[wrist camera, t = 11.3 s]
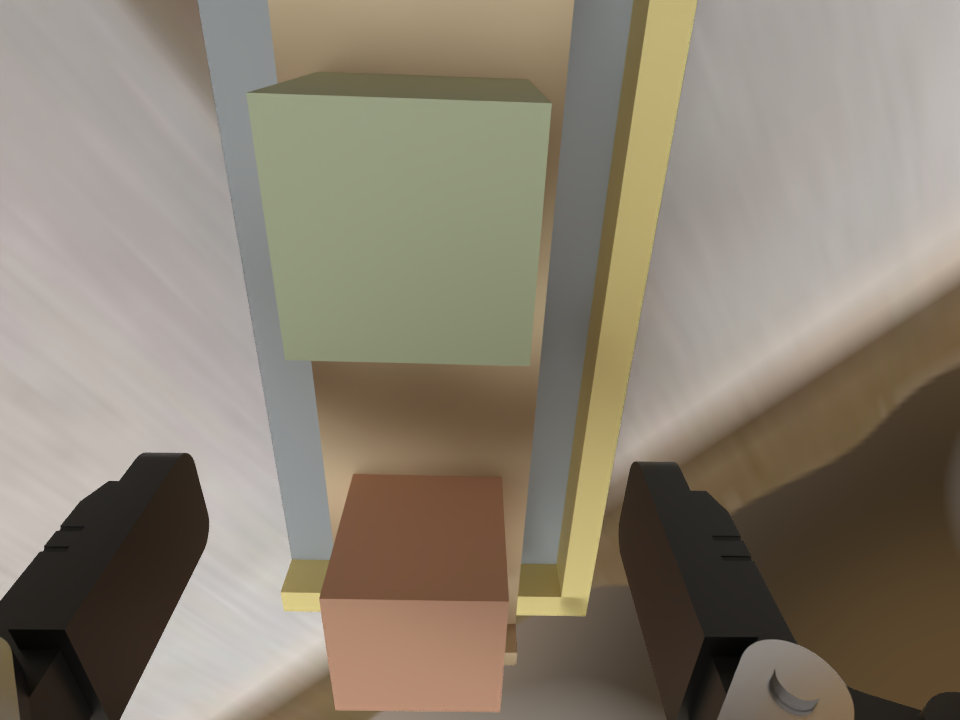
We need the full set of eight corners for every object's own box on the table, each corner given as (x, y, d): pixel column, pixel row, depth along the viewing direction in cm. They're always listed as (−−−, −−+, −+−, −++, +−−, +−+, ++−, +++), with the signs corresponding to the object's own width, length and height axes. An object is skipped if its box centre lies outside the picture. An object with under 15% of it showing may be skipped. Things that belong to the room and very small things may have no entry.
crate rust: (352, 473, 16) (318, 598, 13) (501, 477, 16) (508, 601, 13) (362, 577, 18) (335, 710, 15) (495, 579, 18) (499, 712, 15)
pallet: (306, -73, 13) (233, -115, 9) (557, -63, 13) (592, -100, 9) (362, 550, 22) (337, 662, 18) (508, 553, 22) (515, 665, 19)
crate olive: (316, 71, 11) (246, 93, 8) (528, 79, 11) (551, 102, 8) (335, 271, 13) (285, 360, 10) (515, 277, 13) (529, 366, 10)
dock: (237, -124, 16) (132, -189, 11) (651, -105, 16) (726, -160, 11) (318, 504, 27) (284, 610, 22) (565, 510, 27) (585, 616, 22)
